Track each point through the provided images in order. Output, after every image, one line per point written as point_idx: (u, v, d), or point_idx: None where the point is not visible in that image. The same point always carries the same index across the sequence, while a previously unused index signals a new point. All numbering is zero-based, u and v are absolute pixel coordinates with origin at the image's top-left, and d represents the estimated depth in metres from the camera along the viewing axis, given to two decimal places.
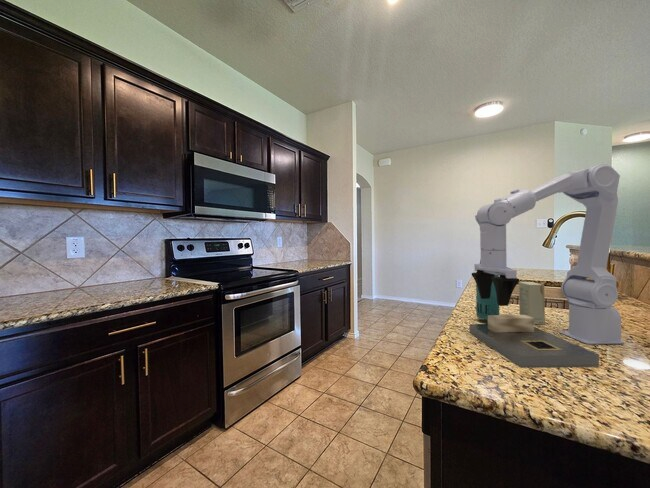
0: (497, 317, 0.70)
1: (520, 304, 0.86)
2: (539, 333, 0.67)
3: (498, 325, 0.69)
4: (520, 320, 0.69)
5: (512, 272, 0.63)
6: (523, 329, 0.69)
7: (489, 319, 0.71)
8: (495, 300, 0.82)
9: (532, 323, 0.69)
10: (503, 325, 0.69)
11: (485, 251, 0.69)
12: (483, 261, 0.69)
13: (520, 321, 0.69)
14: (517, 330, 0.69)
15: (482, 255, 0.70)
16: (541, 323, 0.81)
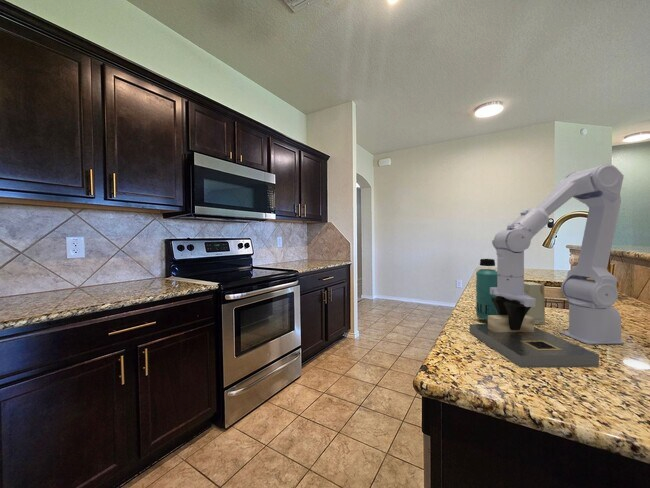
0: (497, 317, 0.70)
1: None
2: (539, 333, 0.67)
3: (498, 325, 0.69)
4: None
5: (531, 301, 0.63)
6: (523, 329, 0.69)
7: (489, 319, 0.71)
8: None
9: (532, 323, 0.69)
10: (503, 325, 0.69)
11: (502, 277, 0.69)
12: (500, 287, 0.70)
13: None
14: (517, 330, 0.69)
15: (499, 281, 0.70)
16: (541, 323, 0.81)
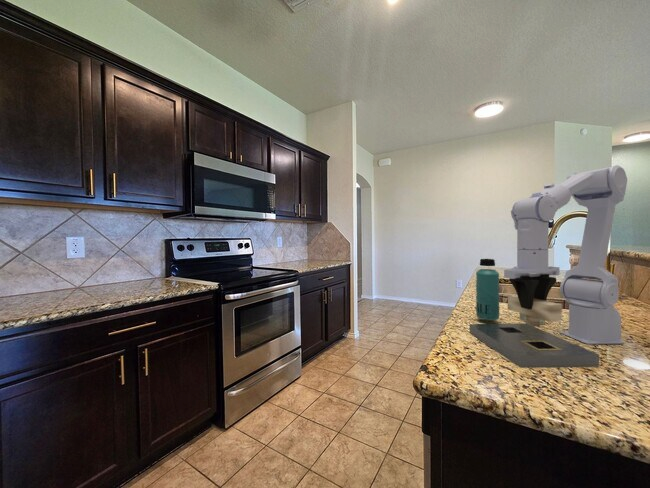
0: None
1: None
2: (539, 333, 0.67)
3: (511, 303, 0.66)
4: (534, 303, 0.60)
5: (508, 272, 0.60)
6: (538, 315, 0.60)
7: None
8: (495, 300, 0.82)
9: (549, 311, 0.57)
10: (516, 304, 0.65)
11: None
12: None
13: (535, 305, 0.60)
14: (531, 314, 0.61)
15: None
16: (541, 323, 0.81)
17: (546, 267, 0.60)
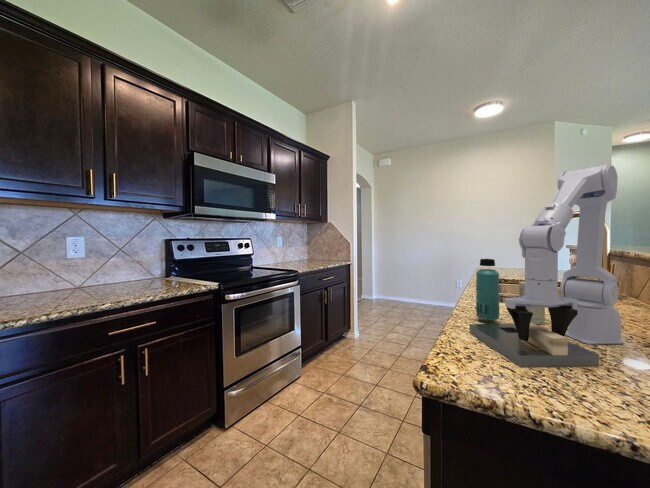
0: None
1: None
2: None
3: None
4: (539, 334, 0.58)
5: (508, 301, 0.60)
6: (542, 347, 0.58)
7: None
8: (495, 300, 0.82)
9: (551, 344, 0.55)
10: None
11: None
12: None
13: (539, 336, 0.58)
14: (537, 345, 0.59)
15: None
16: (541, 323, 0.81)
17: (553, 299, 0.57)
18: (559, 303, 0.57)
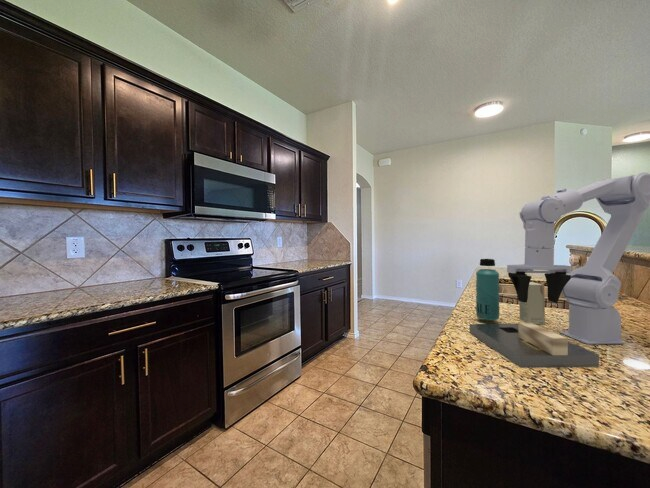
0: (528, 324, 0.63)
1: (520, 304, 0.86)
2: None
3: (521, 331, 0.64)
4: (539, 334, 0.58)
5: (509, 267, 0.68)
6: (542, 347, 0.58)
7: None
8: (495, 300, 0.82)
9: (551, 344, 0.55)
10: (525, 333, 0.63)
11: None
12: None
13: (539, 336, 0.58)
14: (537, 345, 0.59)
15: None
16: (541, 323, 0.81)
17: (549, 264, 0.65)
18: (555, 268, 0.65)
